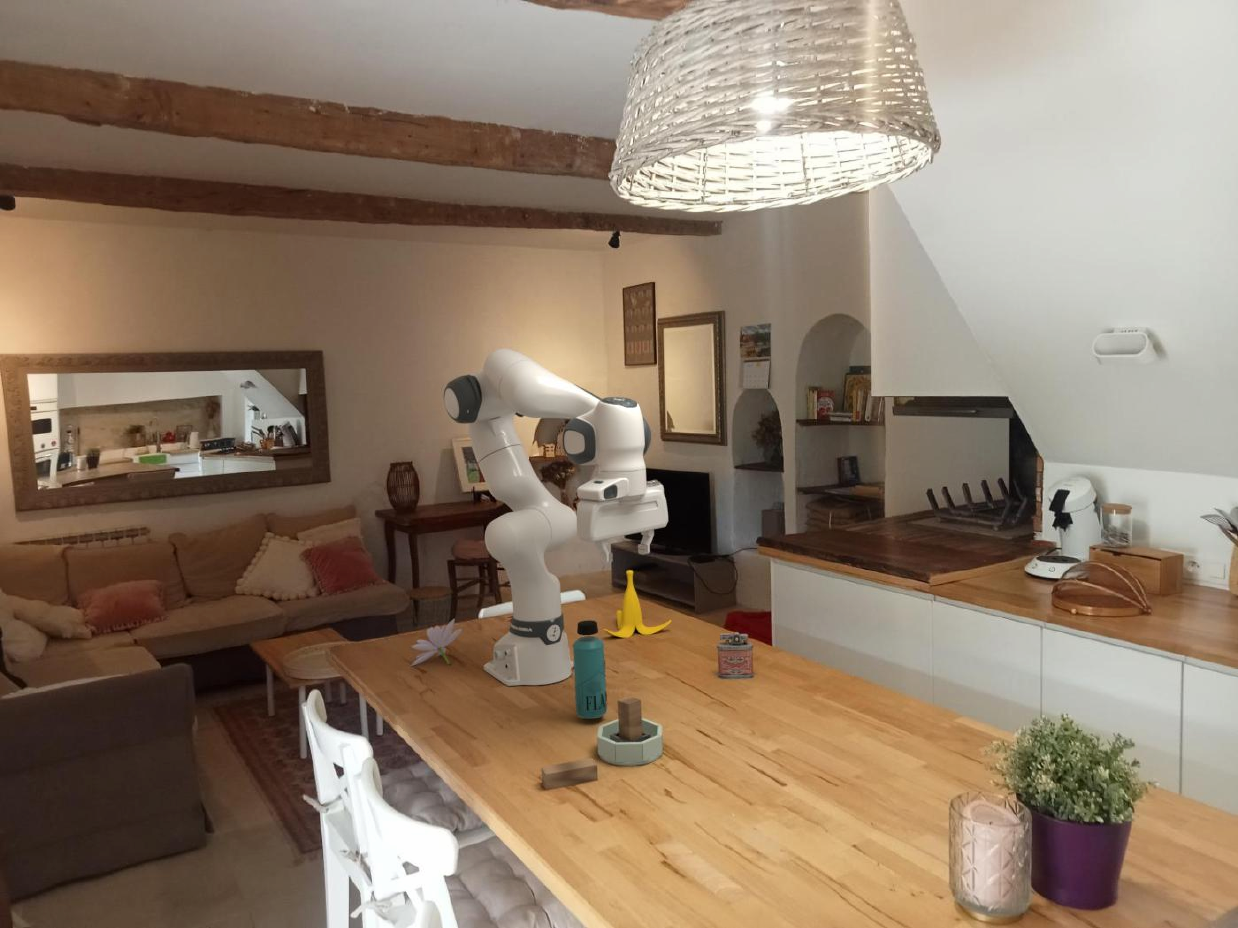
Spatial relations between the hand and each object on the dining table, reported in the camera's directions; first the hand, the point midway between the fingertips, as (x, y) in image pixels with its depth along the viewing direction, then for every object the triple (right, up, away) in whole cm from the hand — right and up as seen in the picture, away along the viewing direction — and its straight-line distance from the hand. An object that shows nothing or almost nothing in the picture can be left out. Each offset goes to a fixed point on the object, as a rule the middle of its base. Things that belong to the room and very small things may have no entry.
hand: (625, 557), depth 167 cm
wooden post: (+1, -34, -5) cm, 34 cm away
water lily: (-46, -31, +52) cm, 76 cm away
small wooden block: (-10, -37, -15) cm, 41 cm away
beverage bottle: (-7, -34, +11) cm, 36 cm away
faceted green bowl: (+1, -35, -5) cm, 35 cm away
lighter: (+25, -30, +32) cm, 51 cm away
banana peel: (+1, -28, +69) cm, 74 cm away
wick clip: (+1, -35, -5) cm, 35 cm away
